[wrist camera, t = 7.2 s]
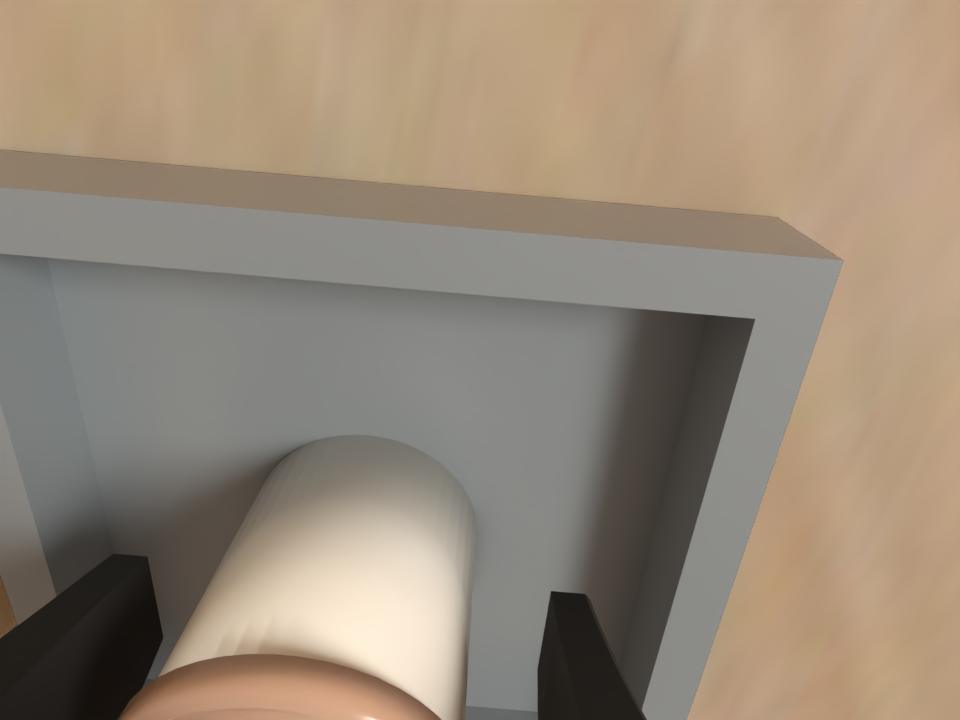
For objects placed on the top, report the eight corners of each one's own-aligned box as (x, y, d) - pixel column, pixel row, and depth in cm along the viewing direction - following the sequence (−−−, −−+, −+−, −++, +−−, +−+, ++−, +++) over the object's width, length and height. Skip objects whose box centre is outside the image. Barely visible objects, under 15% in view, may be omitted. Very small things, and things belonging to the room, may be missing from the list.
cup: (504, 447, 13) (502, 728, 8) (467, 626, 15) (445, 939, 10) (248, 408, 13) (64, 670, 8) (249, 595, 15) (109, 898, 10)
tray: (778, 217, 11) (843, 260, 9) (632, 723, 18) (651, 822, 15) (-10, 149, 11) (-135, 175, 9) (122, 680, 18) (67, 773, 15)
